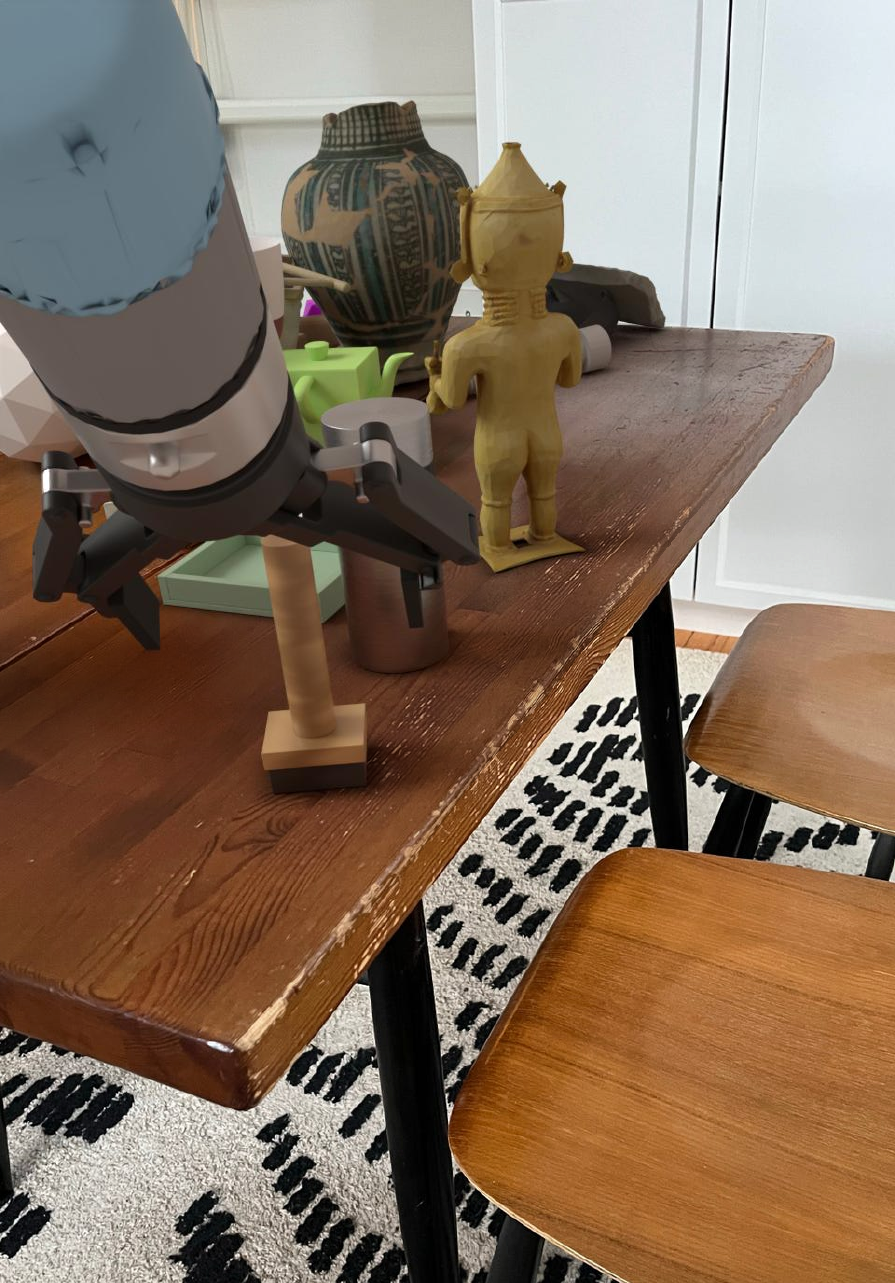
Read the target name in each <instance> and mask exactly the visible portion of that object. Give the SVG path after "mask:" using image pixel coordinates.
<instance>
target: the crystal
mask: <svg viewBox="0 0 895 1283" xmlns="http://www.w3.org/2000/svg"><path fill="white" fill-rule="evenodd" d="M303 309H304V310H303V313H302V316H305V317H306V316H313V315H323V314H322V312H321V310H320V309H319V308H318V306H317V305H316V303H315V302H314V301H313V299H312V298H310V299H306V301H305V305H304V308H303Z"/></svg>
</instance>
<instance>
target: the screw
mask: <svg viewBox="0 0 895 1283" xmlns="http://www.w3.org/2000/svg"><path fill="white" fill-rule="evenodd" d="M578 330H579V335H580V343H581V353H582V374H585V373H590V372H593V371H597V370H601V369H605V368H606V367H607V366H609V363H610V361H611V358H612V342H611V338H610V339H609V336H608V334H607V332H606V331H605V330H604V329H603V328H602V327H601V326H600V325H593V326H589V327H585V328H581V329H578ZM472 394H473V395H475V394H477V392H476V379H475V376H473V377H472V379H471V381H470V384H469V390H468V395H469V396H470V395H472ZM468 395H467V396H468Z"/></svg>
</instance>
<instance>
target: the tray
mask: <svg viewBox="0 0 895 1283" xmlns="http://www.w3.org/2000/svg"><path fill="white" fill-rule="evenodd" d="M261 539H262V537H260V536H250V535H237V536H234V537H230V538H227V539H222V540H217V541H207V542H203V544H201V545H200V546H198V547H197V548H195V549H194V550H193V551H191V552H190V553H188V554H187V555H185V556H184V557H182V558H181V559H180V560H178V561H177V562H175V563H174V564H173V565H171V566H169V567H168V568H167V569H165V570H164V571H162V572H160V573H159V574H158V575H157V580H158V584H159V585H158V586H159V589H160V593H161V598H162V603H163V605H166V606H174V607H181V608H182V607H183V608H190V609H199V610H208V611H214V612H215V611H217V612H223V613H224V612H225V613H234V614H240V615H241V614H242V615H249V616H257V617H258V616H260V617H266V618H274V616H273V610H272V604H271V598H270V592H269V586H268V580H267V575H266V569H265V563H264V557H263V551H262V545H261ZM310 549H311V556H312V563H313V570H314V576H315V583H316V590H317V597H318V604H319V610H320V617H321V624H325V623H326V622H327V621H328V620H329V619H330V618H331V617H332V616H334V614H336V612H338V611H339V610H340V609H341V608H342V607H343V606H344V605H345V599H344V592H343V584H342V577H341V569H340V562H339V554H338V547H337V546H336V545H333V544H330V543H327V542H322V543H320V544H318V545H316V546H314V547H310Z"/></svg>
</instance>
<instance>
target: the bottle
mask: <svg viewBox="0 0 895 1283" xmlns="http://www.w3.org/2000/svg"><path fill="white" fill-rule="evenodd" d="M430 414H431V413H429V407H428V405H427V403H425V402H424V401H422V400H418V399H415V398H409V397H398V396H397V397H396V396H391V397H383V398H370V399H363V400H357V401H352V402H348V403H345V404H341V405H338V406H336V407H333V408H331V409H329V410H327V411H326V412H324V413H323V414H322V416H321V427H322V435H323V442H324V449H325V448H332V447H339V446H346V445H353V444H354V443H355V442H359V441H360V434H359V428H360V427H361V426H362V425H363V424H365V423H368V422H383V423H385V424H387V425H388V426H389V427H390V430H391V432H392V435H393V437H394V440H395V443H396V445H397V448H399V449H400V450H401V451H403V452H404V453H405V454H406V455H408V456H409V457H410V458H412V459H413V460H414V461H415V462H417V463H418V464H419V465H421V466H422V467H423V468H424V469H426V470H427V471H428V472H430V473H431V474H432V475H433V476H435V477H436V478H437V468H436V457H435V455H434V451H433V439H432V438H433V437H432V428H431V427H432V426H431V415H430ZM337 547H338V554H339V562H340V569H341V577H342V584H343V592H344V599H345V604H344V605H345V606H344V607H345V613H346V621H347V628H348V636H349V643H350V650H351V657H352V660H353V662H354V663H355V664H356V665H358V666H359V667H361V668H362V669H364V670H366V671H367V670H368V671H371V672H376V673H380V674H381V673H382V674H401V673H409V672H415V671H420V670H422V669H423V670H424V669H426V668H428V667H431V666H433V665H435V664H437V663H438V662H440V661H441V660H442V659H444V658H445V656H446V655H447V654H448V652H449V648H450V641H449V629H448V617H447V606H446V596H445V594H446V593H445V584H444V583H445V582H444V570H443V569H444V568H443V564H442V565H441V569H442V581H443V585H442V587H441V588H440V589H436V590H424V591H421V596H422V609H423V621H424V627H422V628H410V629H409V624H408V618H407V613H406V607H405V601H404V596H403V590H402V585H401V577H400V567H397V566H394V565H391V564H388V563H385V562H382V561H380V560H377V559H374V558H371V557H368V556H365V555H362V554H359V553H356V552H353V551H351V550H348V549H345V548H342V547H339V546H337Z"/></svg>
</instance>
